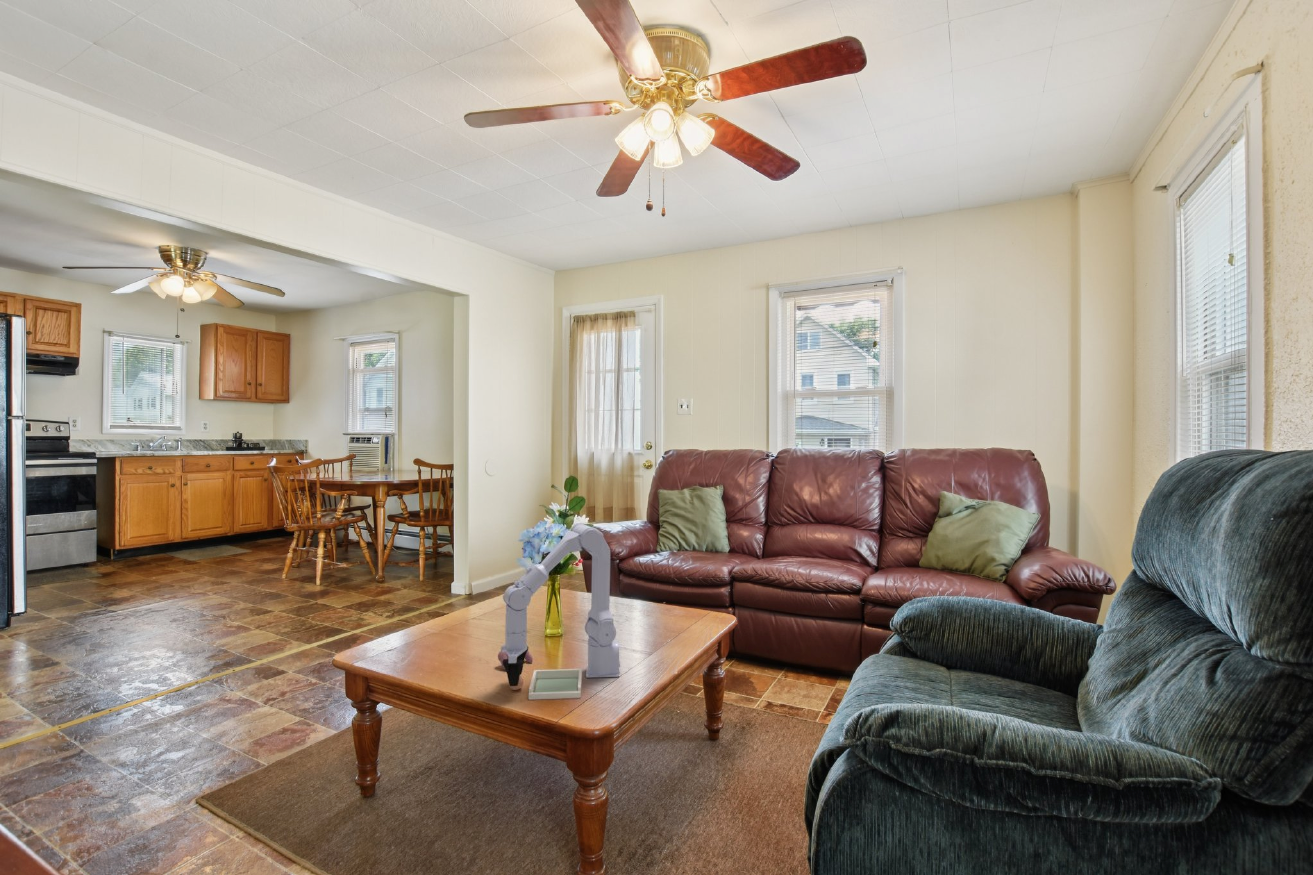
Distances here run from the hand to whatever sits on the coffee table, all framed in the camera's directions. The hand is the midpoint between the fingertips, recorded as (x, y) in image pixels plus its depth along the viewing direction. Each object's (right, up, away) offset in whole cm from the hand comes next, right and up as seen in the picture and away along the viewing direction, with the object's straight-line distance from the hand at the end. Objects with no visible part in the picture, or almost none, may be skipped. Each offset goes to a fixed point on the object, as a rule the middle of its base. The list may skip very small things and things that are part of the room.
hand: (515, 679), depth 167 cm
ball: (0, -3, 0) cm, 3 cm away
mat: (+11, -3, +1) cm, 11 cm away
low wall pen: (+11, -3, +1) cm, 11 cm away
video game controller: (-4, -3, +17) cm, 18 cm away
